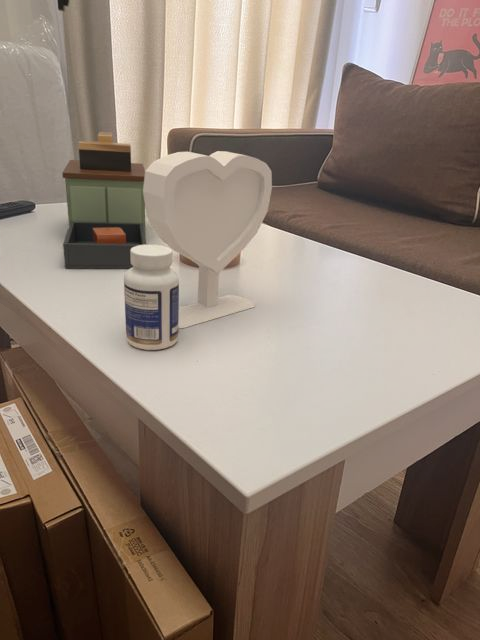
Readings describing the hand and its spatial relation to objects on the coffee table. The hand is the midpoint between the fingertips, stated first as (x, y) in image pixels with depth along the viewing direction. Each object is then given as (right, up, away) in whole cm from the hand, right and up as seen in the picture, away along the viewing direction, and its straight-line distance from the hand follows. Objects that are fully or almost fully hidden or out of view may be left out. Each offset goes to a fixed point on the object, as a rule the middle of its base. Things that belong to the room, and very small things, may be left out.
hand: (27, 6), depth 70 cm
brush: (+5, -15, +19) cm, 25 cm away
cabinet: (+4, -25, +22) cm, 34 cm away
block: (+10, -32, +5) cm, 33 cm away
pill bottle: (+20, -45, -15) cm, 52 cm away
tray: (+8, -32, +10) cm, 34 cm away
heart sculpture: (+25, -41, -7) cm, 49 cm away
